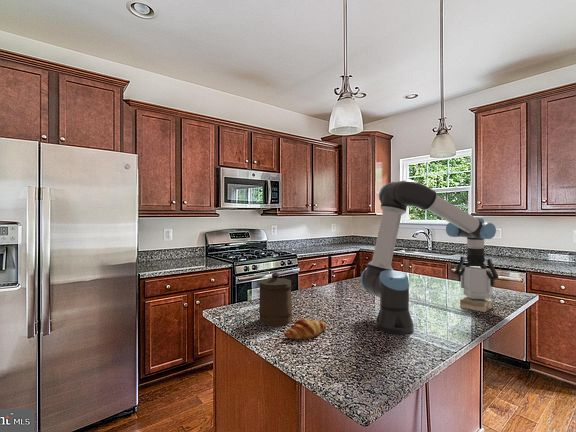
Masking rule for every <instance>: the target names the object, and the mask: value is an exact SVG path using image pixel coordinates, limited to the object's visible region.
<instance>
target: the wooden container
mask: <svg viewBox="0 0 576 432" xmlns="http://www.w3.org/2000/svg"><path fill="white" fill-rule="evenodd" d="M279 276H280V274H279V273H278V272H272V273H271V278H264V279H261V280H260V281H259V301H258V303H259V305H258V306H259V307H258V308H259V309H258V310H259V323H260V324H261V325H264V326H267V327H268V326H269V327H282V326H285V325H288V324H290V323H291V322H292V320H293V316H292V315H293V314H292V313H293V310H292V309H293V306H292V305H293V304H292V302H293V301H292V280H290V279H288V278H283V277H282V278H281V277H280V278H279ZM281 325H282V326H281Z"/></svg>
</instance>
